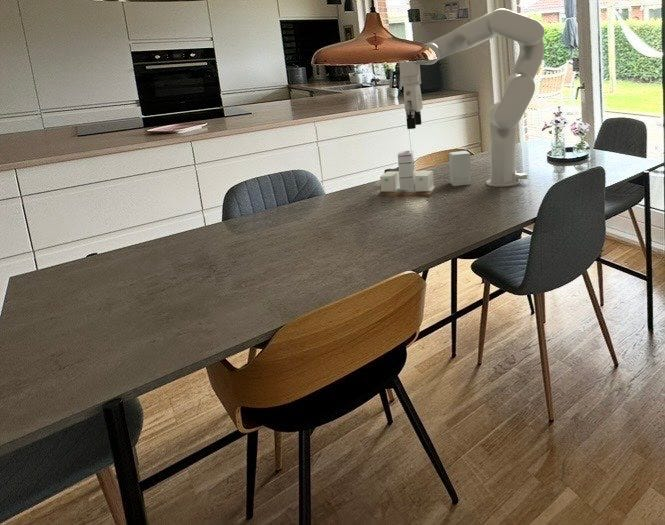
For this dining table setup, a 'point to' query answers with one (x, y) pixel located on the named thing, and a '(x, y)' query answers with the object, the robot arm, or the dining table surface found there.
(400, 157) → the syrup box
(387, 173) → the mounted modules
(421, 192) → the rail board
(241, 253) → the dining table surface
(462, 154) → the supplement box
